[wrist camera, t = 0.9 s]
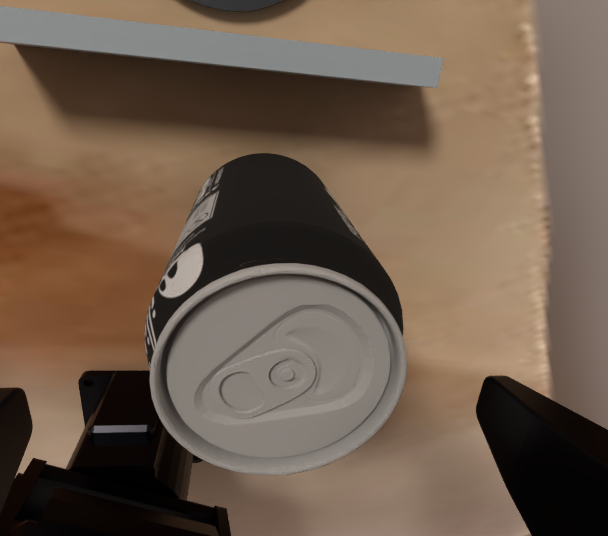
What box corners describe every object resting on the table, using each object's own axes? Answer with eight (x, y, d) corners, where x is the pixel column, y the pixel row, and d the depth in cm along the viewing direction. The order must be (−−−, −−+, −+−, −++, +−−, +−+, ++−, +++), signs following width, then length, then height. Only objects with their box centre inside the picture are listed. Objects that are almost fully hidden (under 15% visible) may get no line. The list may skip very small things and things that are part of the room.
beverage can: (350, 250, 21) (455, 428, 10) (233, 300, 22) (217, 522, 11) (301, 126, 19) (375, 192, 8) (168, 185, 19) (59, 329, 8)
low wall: (409, 86, 18) (437, 87, 16) (13, 44, 16) (-35, 37, 13) (414, 61, 18) (443, 57, 15) (8, 14, 16) (-43, 0, 13)
